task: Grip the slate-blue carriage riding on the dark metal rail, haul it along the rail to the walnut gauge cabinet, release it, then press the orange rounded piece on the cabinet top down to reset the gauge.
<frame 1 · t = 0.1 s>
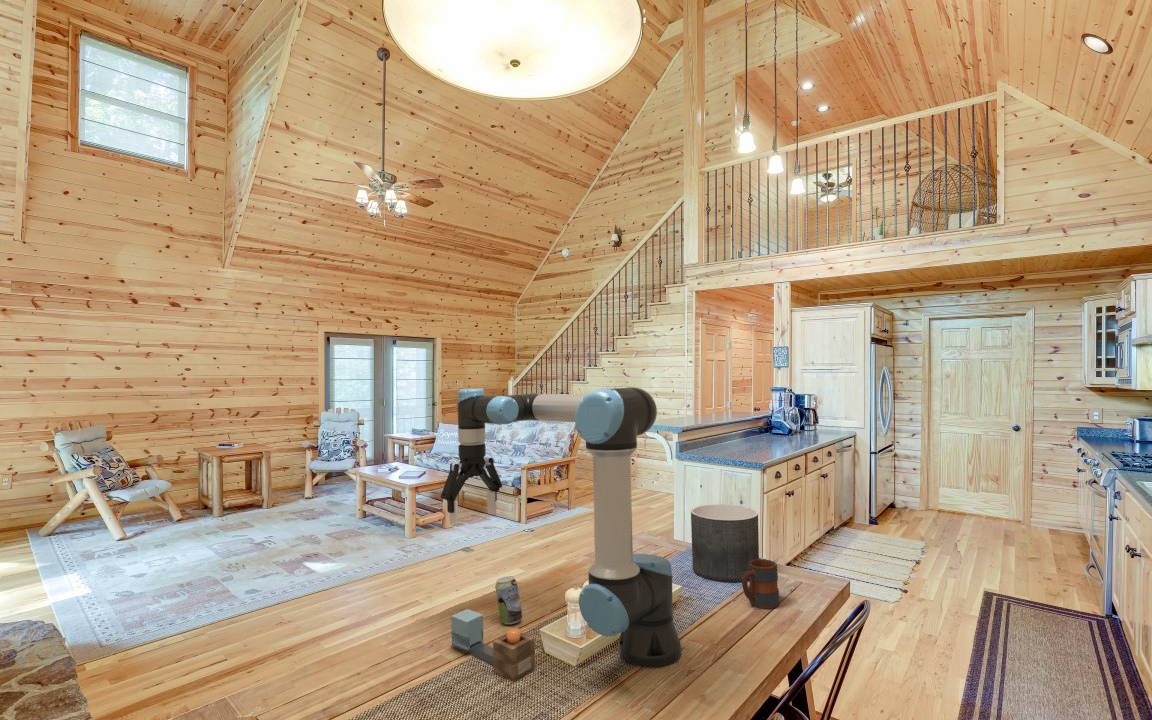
hand: (473, 519, 161), 28 cm above the table, fingers open, 13 cm apart
mug: (759, 605, 166), on the table
beverage can: (509, 622, 158), on the table
orange rounded piece: (513, 638, 133), point 7 cm above the table, slide at 0.0 cm
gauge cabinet: (514, 670, 133), on the table
carriage: (467, 629, 144), point 5 cm above the table, slide at 9.0 cm
planter: (725, 571, 194), on the table
rail: (479, 654, 141), on the table
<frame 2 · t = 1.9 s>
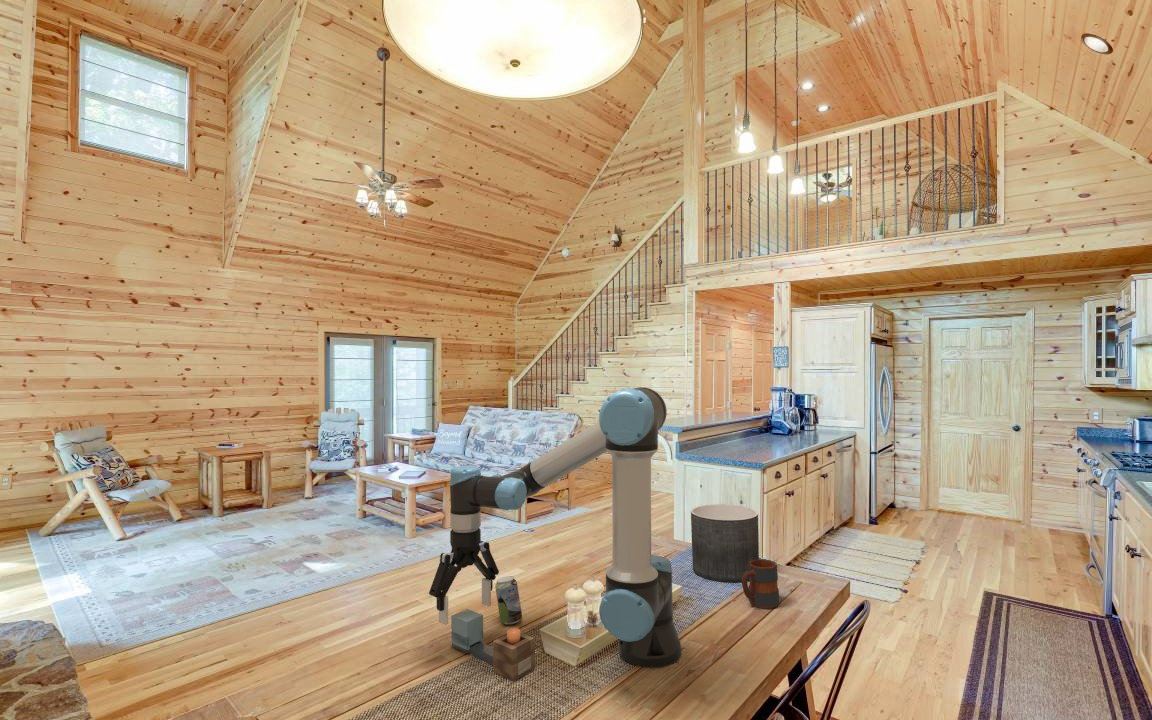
hand: (465, 613, 144), 9 cm above the table, fingers open, 13 cm apart
nothing on the table moved.
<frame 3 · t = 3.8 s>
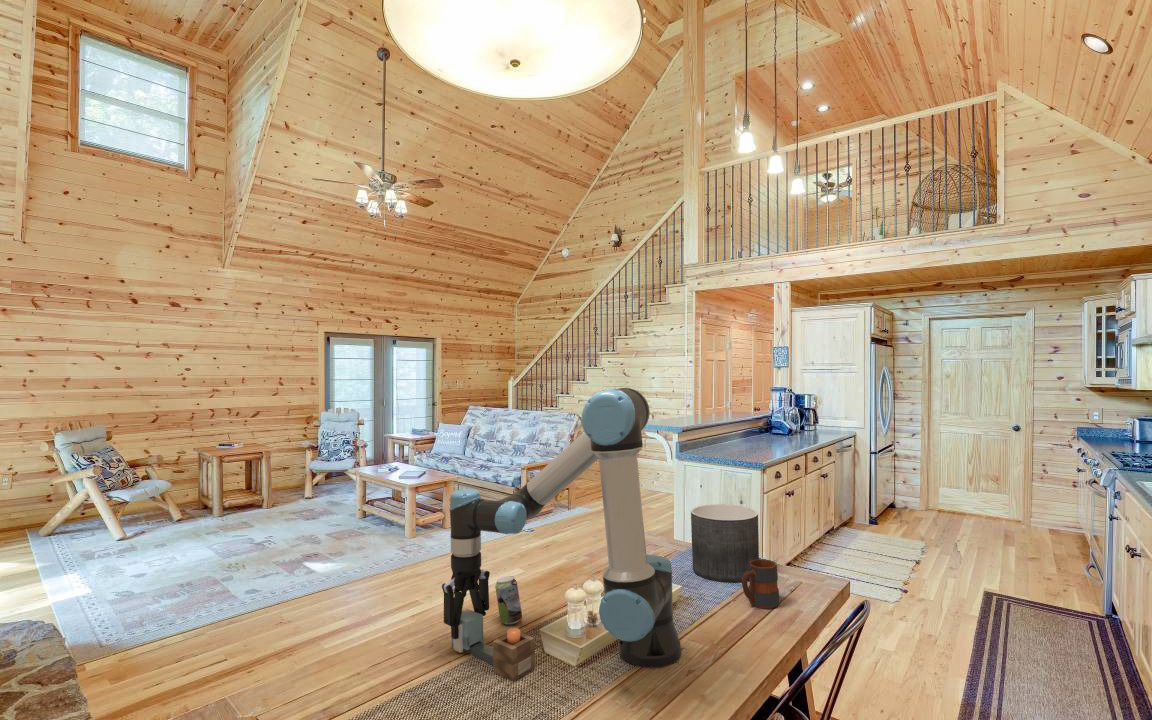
hand: (467, 645, 144), 1 cm above the table, fingers closed on carriage, 5 cm apart
carriage: (467, 629, 144), point 5 cm above the table, slide at 9.0 cm, touching gripper
everything else where it was.
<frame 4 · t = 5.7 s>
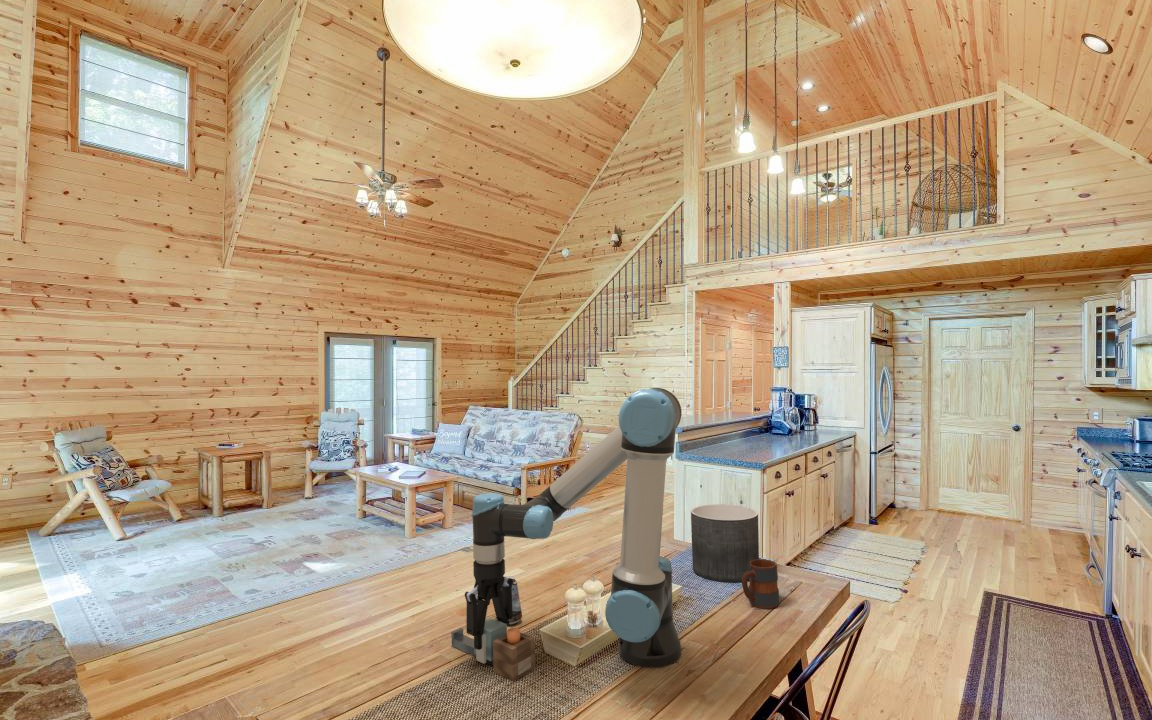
hand: (490, 656, 138), 1 cm above the table, fingers closed on carriage, 5 cm apart
carriage: (490, 638, 138), point 5 cm above the table, slide at 0.4 cm, touching gripper
everything else where it was.
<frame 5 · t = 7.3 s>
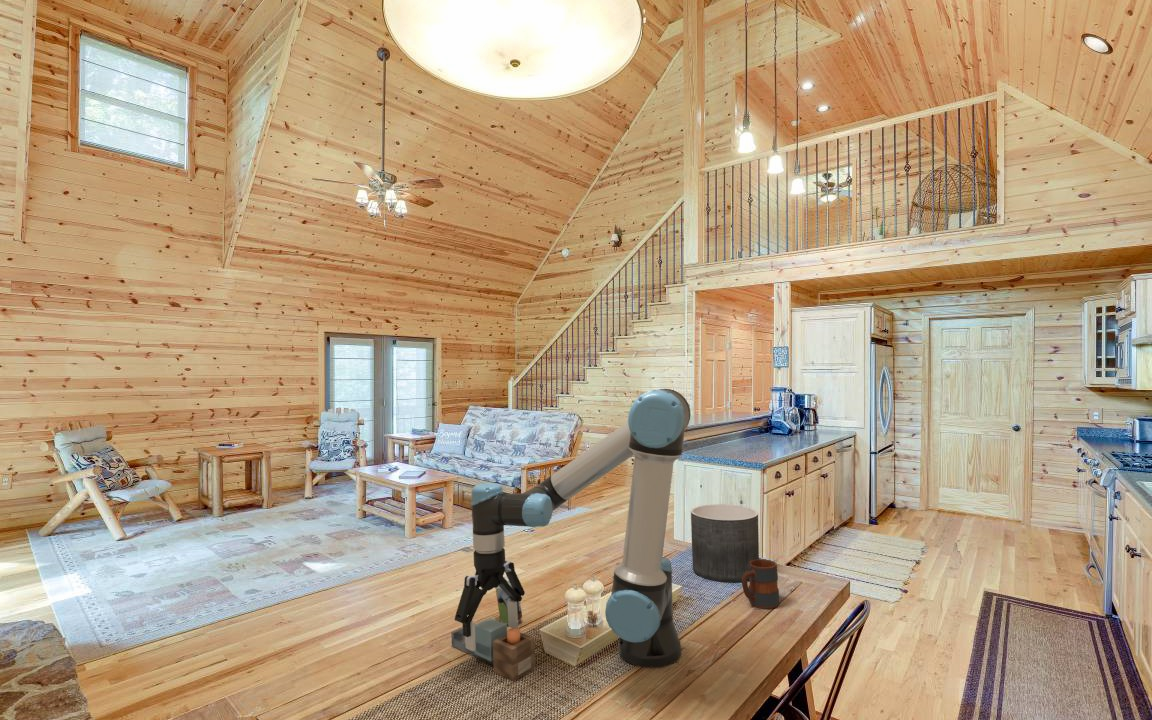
hand: (492, 638, 138), 5 cm above the table, fingers open, 13 cm apart
carriage: (490, 638, 138), point 5 cm above the table, slide at 0.3 cm
everything else where it was.
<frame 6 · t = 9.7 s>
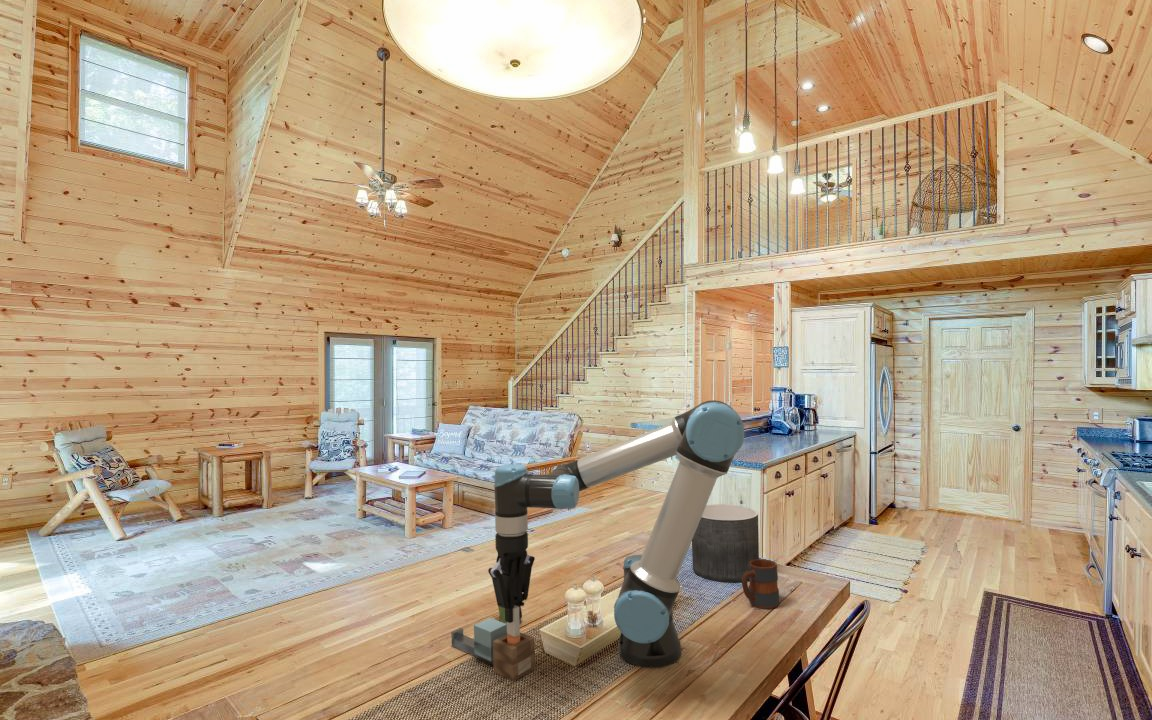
hand: (513, 634, 133), 8 cm above the table, fingers closed
orange rounded piece: (513, 643, 133), point 6 cm above the table, slide at 1.0 cm, touching gripper
everything else where it was.
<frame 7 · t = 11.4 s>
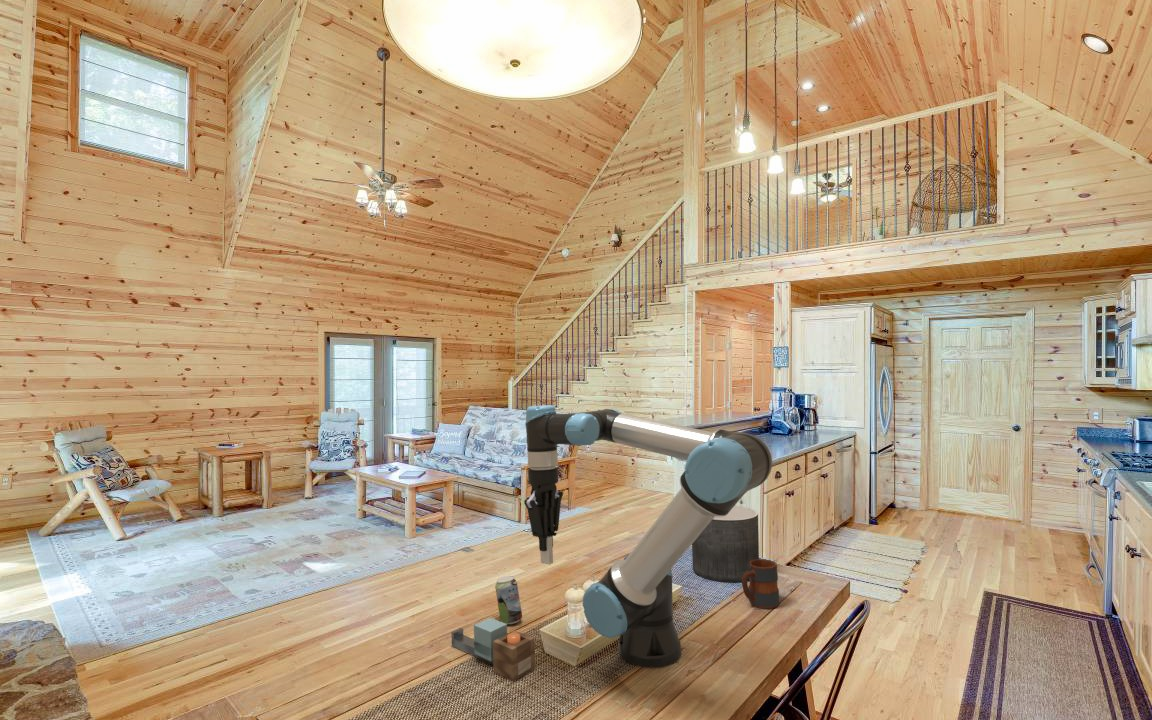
hand: (546, 562, 142), 21 cm above the table, fingers closed
orange rounded piece: (513, 643, 133), point 6 cm above the table, slide at 1.1 cm
everything else where it was.
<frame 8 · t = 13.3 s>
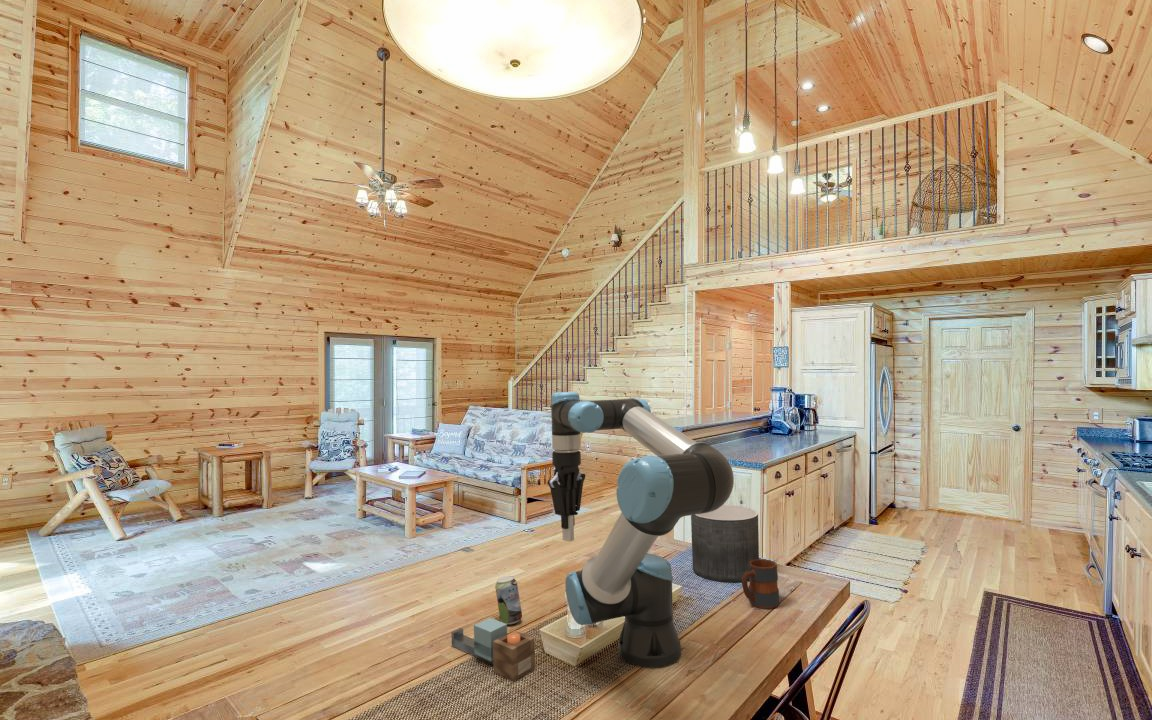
hand: (568, 540, 151), 24 cm above the table, fingers closed
nothing on the table moved.
at the end: carriage slide at 0.3 cm; orange rounded piece slide at 1.1 cm; the gripper is holding nothing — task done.
